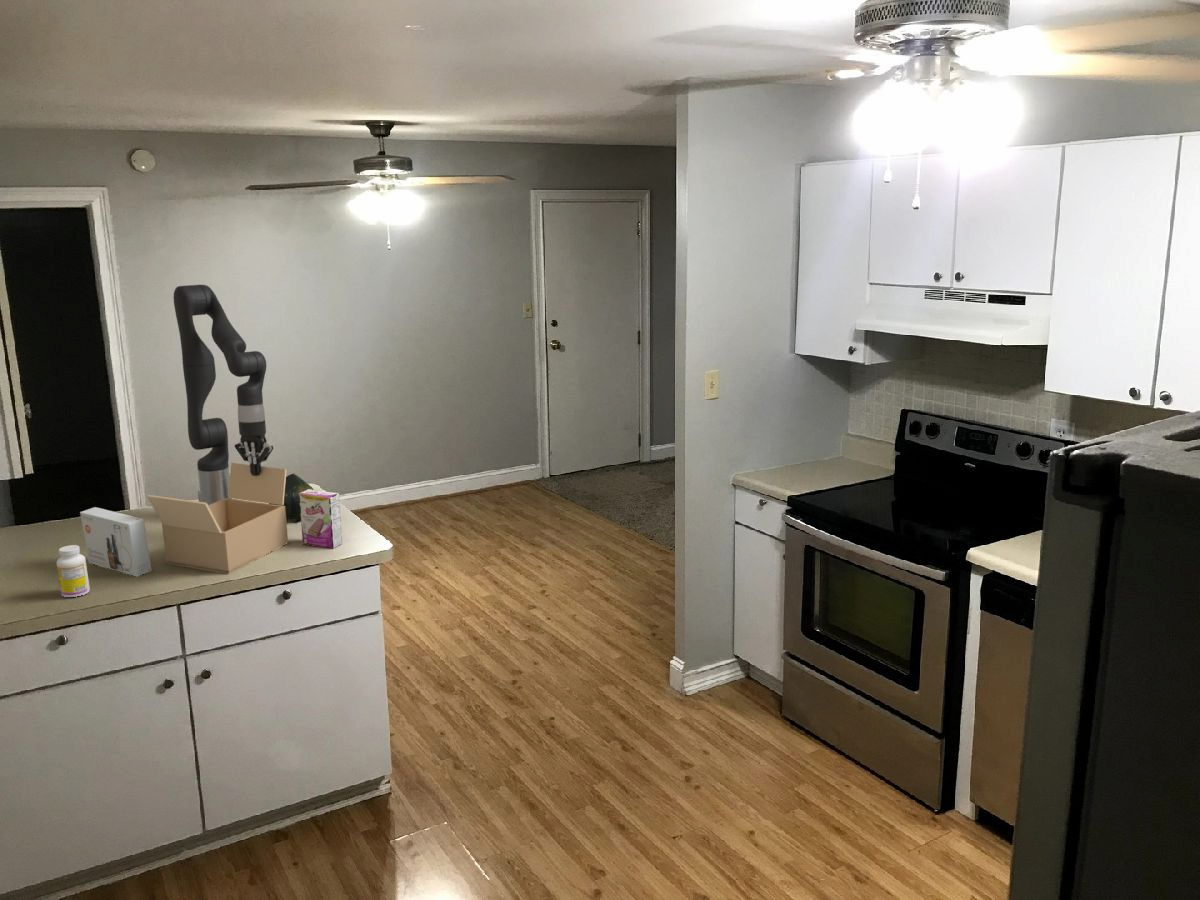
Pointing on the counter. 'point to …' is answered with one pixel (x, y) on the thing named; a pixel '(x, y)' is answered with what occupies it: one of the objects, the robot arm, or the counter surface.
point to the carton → (228, 537)
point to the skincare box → (116, 541)
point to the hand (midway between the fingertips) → (256, 475)
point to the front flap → (184, 513)
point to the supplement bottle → (72, 572)
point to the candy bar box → (320, 518)
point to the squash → (293, 495)
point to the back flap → (257, 484)
